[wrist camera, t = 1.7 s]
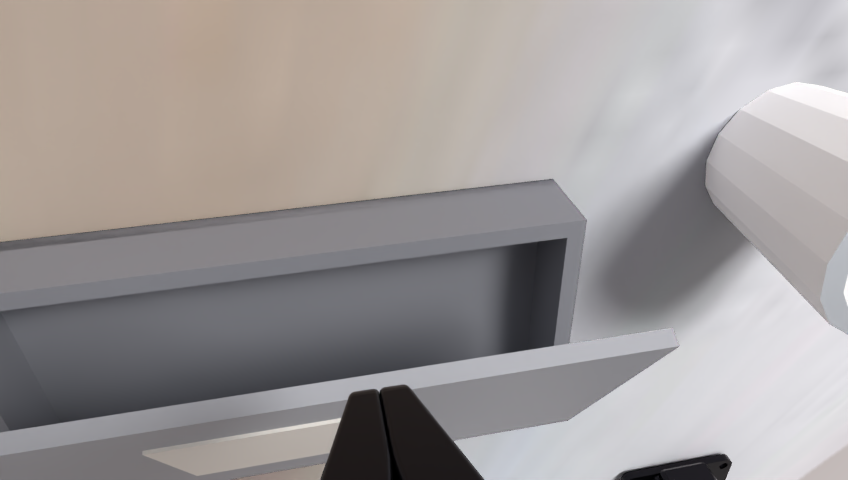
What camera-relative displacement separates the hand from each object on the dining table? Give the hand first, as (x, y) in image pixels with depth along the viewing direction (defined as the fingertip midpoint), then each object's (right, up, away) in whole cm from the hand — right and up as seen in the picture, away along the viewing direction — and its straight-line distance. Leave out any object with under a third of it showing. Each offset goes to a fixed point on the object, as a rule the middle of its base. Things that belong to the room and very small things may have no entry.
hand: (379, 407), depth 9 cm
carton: (-4, 0, +14) cm, 15 cm away
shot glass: (+14, +6, +14) cm, 21 cm away
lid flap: (-3, -3, +10) cm, 11 cm away
